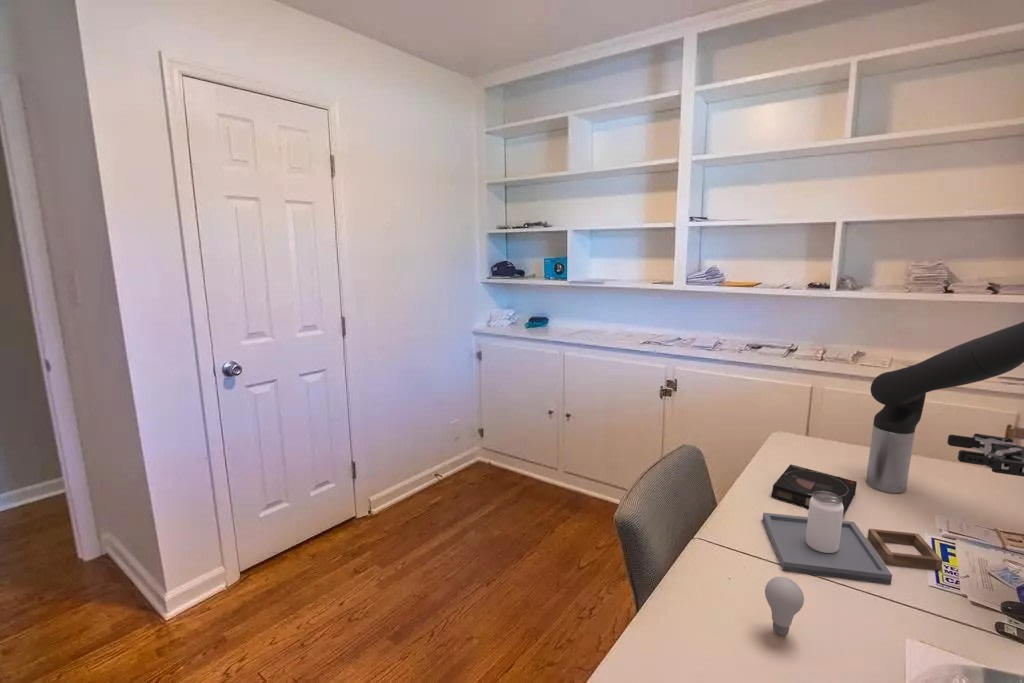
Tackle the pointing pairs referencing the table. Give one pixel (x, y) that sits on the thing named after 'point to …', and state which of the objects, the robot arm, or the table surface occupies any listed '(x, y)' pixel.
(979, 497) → the table surface
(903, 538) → the holder
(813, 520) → the can
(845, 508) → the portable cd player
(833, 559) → the tray
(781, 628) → the lightbulb
